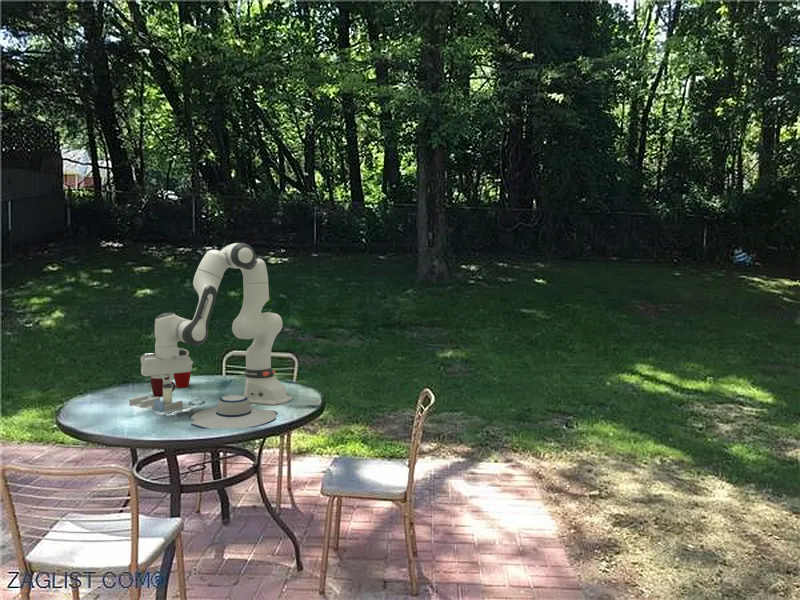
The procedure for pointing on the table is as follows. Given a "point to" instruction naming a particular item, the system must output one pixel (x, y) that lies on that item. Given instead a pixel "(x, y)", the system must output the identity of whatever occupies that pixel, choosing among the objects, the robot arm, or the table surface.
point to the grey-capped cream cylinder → (167, 394)
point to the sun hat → (232, 414)
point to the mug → (159, 385)
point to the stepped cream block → (155, 404)
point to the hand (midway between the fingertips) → (167, 384)
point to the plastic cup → (182, 379)
